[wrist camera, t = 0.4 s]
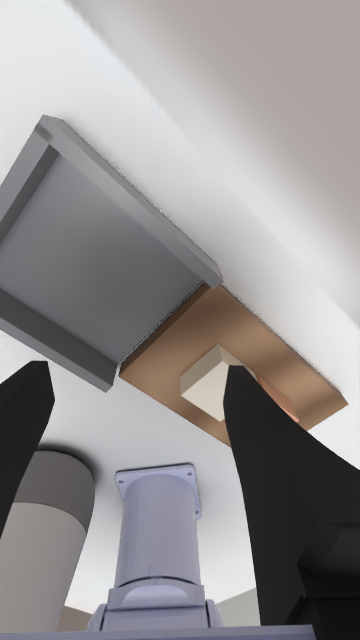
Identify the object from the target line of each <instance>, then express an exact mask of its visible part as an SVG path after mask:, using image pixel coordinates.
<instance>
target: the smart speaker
mask: <svg viewBox="0 0 360 640" xmlns="http://www.w3.org/2000/svg"><path fill="white" fill-rule="evenodd" d="M94 498H95V489H94V481H93V478H92V475H91V473H90V471H89V469H88V468H87V467H86V466H85V465H84V464H83V463H82V462H81V461H80V460H78V459H76V458H75V457H73V456H71V455H68V454H65V453H62V452H57V451H35V452H34V455H33V457H32V459H31V461H30V463H29V465H28V467H27V470H26V472H25V474H24V476H23V478H22V480H21V483H20V485H19V488H18V490H17V493H16V495H15V498H14V501H13V504H12V507H11V510H10V512H9V515H8V518H7V521H6V524H5V527H4V530H3V533H2V536H1V539H0V633H33V632H55V631H56V628H57V625H58V622H59V619H60V616H61V613H62V610H63V607H64V604H65V600H66V597H67V594H68V591H69V588H70V585H71V582H72V579H73V576H74V573H75V570H76V567H77V564H78V561H79V558H80V554H81V551H82V548H83V545H84V542H85V539H86V536H87V532H88V528H89V525H90V521H91V517H92V512H93V507H94Z"/></svg>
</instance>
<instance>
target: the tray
mask: <svg viewBox="0 0 360 640" xmlns="http://www.w3.org/2000/svg"><path fill="white" fill-rule="evenodd" d="M202 280H204V281H205V282H206V283H207V284H208V285H209V286H210V287H212V288H213V289H215V288H216V287H217V286H218V285H219V284H220V283H221V282H222V281H223V278H222V275H221V273H220V271H219V268H218V266H217V264H216V263H215V262H214V261H213V260H212V259H211V258H210V257H209V256H207V255H206V254H205V253H204V252H203V251H202V250H201V249H200V248H199V247H198V246H197V245H196V244H195V243H194V242H192V241H191V240H190V239H189V238H188V237H187V236H186V235H185V234H184V233H183V232H182V231H181V230H180V229H179V228H177V227H176V226H175V225H174V224H173V223H172V222H171V221H170V220H169V219H168V218H167V217H166V216H165V215H164V214H162V213H161V212H160V211H159V210H158V209H157V208H156V207H155V206H154V205H153V204H152V203H151V202H150V201H149V200H147V199H146V198H145V197H144V196H143V195H142V194H141V193H140V192H139V191H138V190H137V189H136V188H135V187H134V186H132V185H131V184H130V183H129V182H128V181H127V180H126V179H125V178H124V177H123V176H122V175H121V174H120V173H119V172H117V171H116V170H115V169H114V168H113V167H112V166H111V165H110V164H109V163H108V162H107V161H106V160H105V159H104V158H102V157H101V156H100V155H99V154H98V153H97V152H96V151H95V150H94V149H93V148H92V147H91V146H90V145H89V144H87V143H86V142H85V141H84V140H83V139H82V138H81V137H80V136H79V135H78V134H77V133H76V132H75V131H74V130H72V129H71V128H70V127H69V126H68V125H67V124H66V123H65V122H64V121H63V120H61V119H57V118H54V117H50V116H47V115H42V117H41V119H40V120H39V122H38V124H37V125H36V127H35V129H34V130H33V132H32V134H31V135H30V137H29V139H28V141H27V142H26V144H25V146H24V147H23V149H22V151H21V152H20V154H19V156H18V157H17V159H16V161H15V162H14V164H13V166H12V168H11V169H10V171H9V173H8V174H7V176H6V178H5V179H4V181H3V183H2V184H1V186H0V330H2V331H4V332H5V333H7V334H9V335H10V336H12V337H14V338H15V339H17V340H19V341H20V342H22V343H24V344H25V345H27V346H29V347H30V348H32V349H34V350H35V351H37V352H39V353H40V354H42V355H44V356H45V357H47V358H49V359H50V360H52V361H54V362H55V363H57V364H59V365H60V366H62V367H64V368H65V369H67V370H69V371H70V372H72V373H74V374H75V375H77V376H79V377H80V378H82V379H84V380H85V381H87V382H89V383H90V384H92V385H94V386H95V387H97V388H99V389H100V390H102V391H104V392H105V393H106V392H107V391H108V390H109V389H110V388H111V387H112V386H113V382H114V377H115V373H116V369H117V365H118V363H119V362H120V361H121V360H122V359H123V358H124V357H125V356H126V355H128V354H129V353H130V352H131V351H132V350H133V349H134V348H135V347H136V346H137V345H138V344H139V343H140V342H141V341H142V340H143V339H144V338H145V337H146V336H147V335H148V334H149V333H150V332H151V331H152V330H153V329H154V328H155V327H156V326H157V325H158V324H159V323H160V322H161V321H162V320H163V319H164V318H165V317H166V316H167V315H168V314H169V313H170V312H171V311H172V310H173V309H174V308H175V307H176V306H177V305H178V304H179V303H180V302H181V301H182V300H183V299H184V298H185V297H186V296H187V295H188V294H189V293H190V292H191V291H192V290H193V289H194V288H195V287H196V286H197V285H198V284H199V283H200V282H201V281H202Z"/></svg>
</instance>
